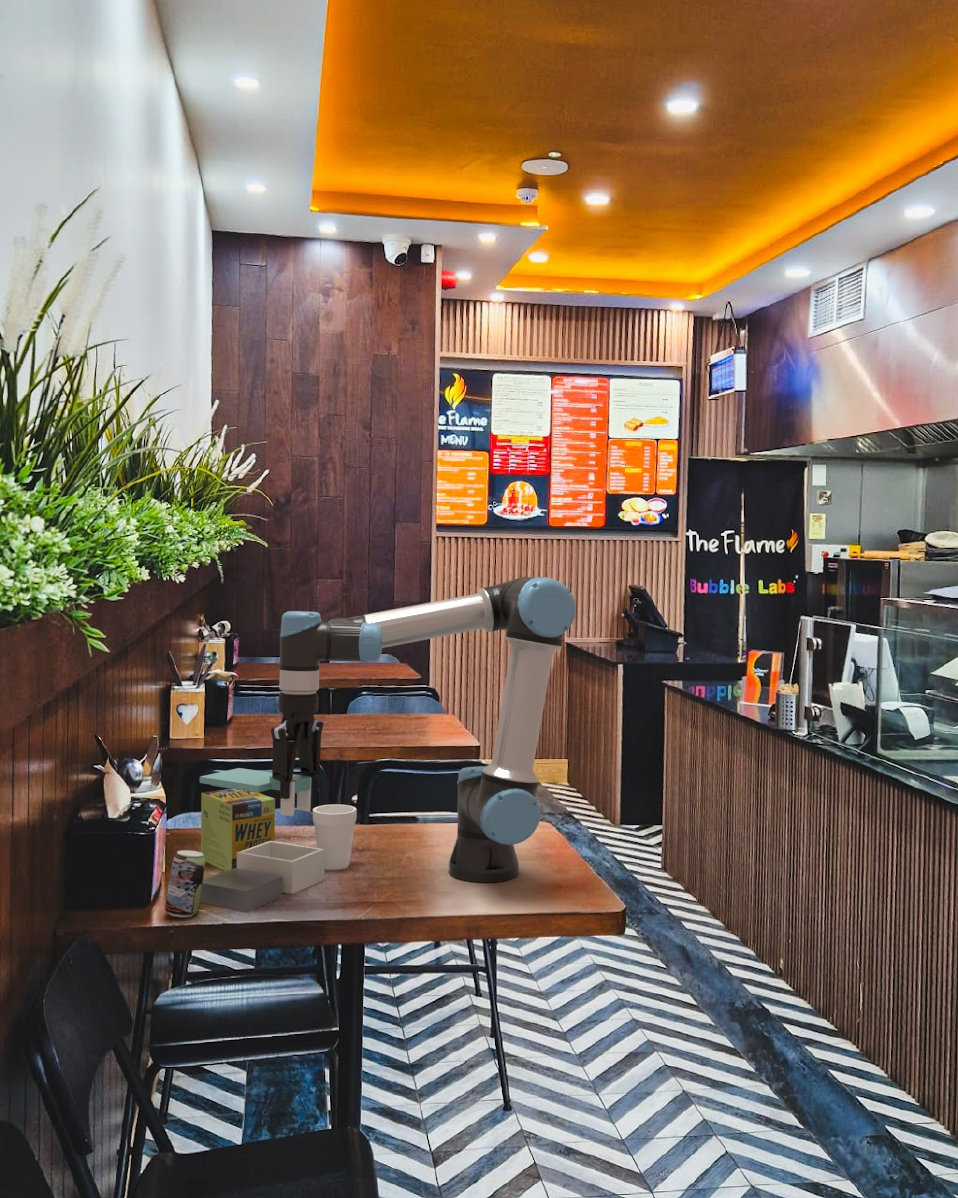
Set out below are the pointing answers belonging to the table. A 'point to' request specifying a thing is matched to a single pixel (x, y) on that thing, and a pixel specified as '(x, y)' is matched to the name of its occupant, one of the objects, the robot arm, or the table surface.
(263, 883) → the block
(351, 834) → the foam cup
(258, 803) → the protein box
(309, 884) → the tub
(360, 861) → the table surface
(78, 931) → the table surface
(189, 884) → the beverage can
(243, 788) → the lid
